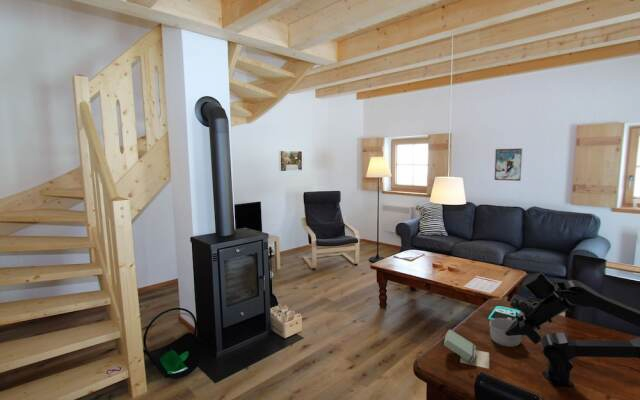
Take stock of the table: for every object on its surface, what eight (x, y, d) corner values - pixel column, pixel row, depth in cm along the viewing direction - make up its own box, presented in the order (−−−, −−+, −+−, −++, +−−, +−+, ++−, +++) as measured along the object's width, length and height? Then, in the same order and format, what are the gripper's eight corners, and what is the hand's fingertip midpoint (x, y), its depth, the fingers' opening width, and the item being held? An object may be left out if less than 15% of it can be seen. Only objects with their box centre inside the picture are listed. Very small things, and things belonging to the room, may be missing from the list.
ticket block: (488, 356, 124) (489, 352, 123) (488, 372, 115) (489, 368, 114) (461, 350, 127) (462, 347, 127) (459, 366, 119) (460, 362, 118)
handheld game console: (521, 313, 156) (521, 310, 156) (513, 327, 144) (513, 324, 144) (497, 307, 162) (497, 304, 162) (487, 320, 150) (487, 317, 150)
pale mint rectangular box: (475, 345, 124) (449, 328, 127) (474, 357, 117) (447, 339, 120) (471, 350, 125) (446, 334, 128) (470, 363, 118) (443, 345, 121)
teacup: (513, 355, 124) (514, 334, 123) (483, 342, 132) (484, 323, 131) (528, 341, 133) (529, 321, 132) (499, 330, 141) (500, 312, 140)
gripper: (524, 279, 119) (487, 303, 125) (530, 300, 102) (487, 327, 109) (550, 304, 117) (511, 328, 123) (560, 330, 100) (514, 356, 106)
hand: (505, 334), depth 115 cm, fingers closed
